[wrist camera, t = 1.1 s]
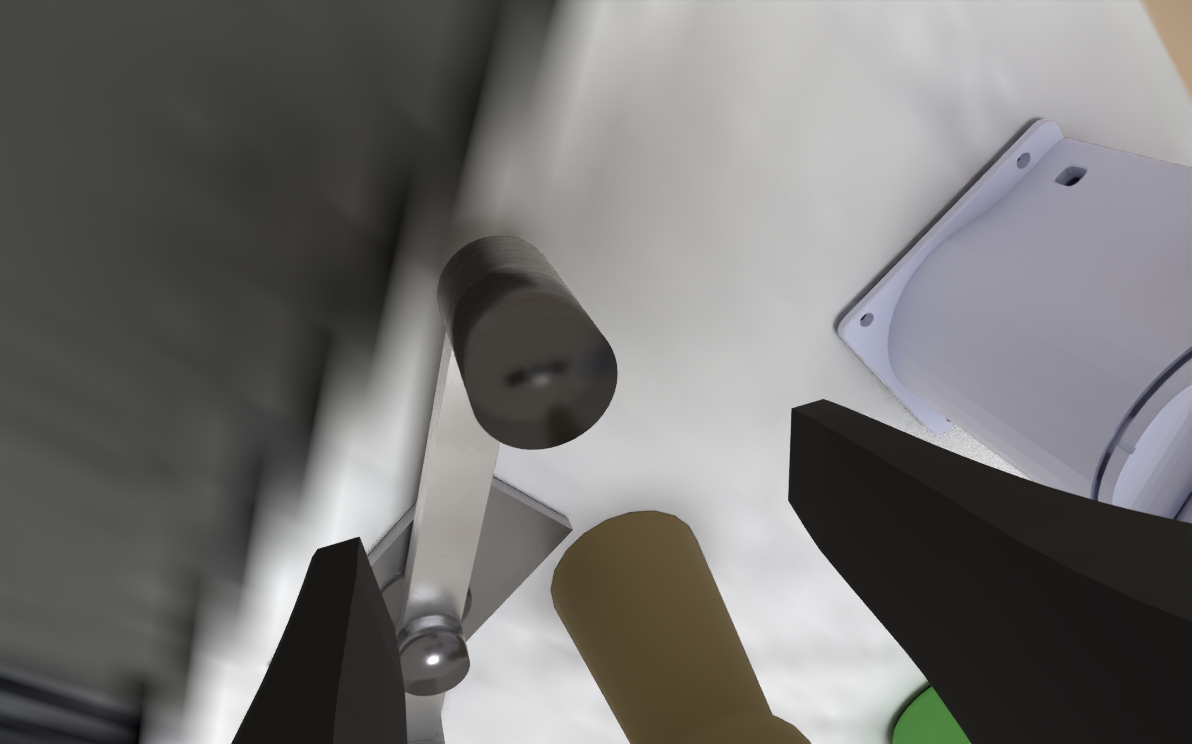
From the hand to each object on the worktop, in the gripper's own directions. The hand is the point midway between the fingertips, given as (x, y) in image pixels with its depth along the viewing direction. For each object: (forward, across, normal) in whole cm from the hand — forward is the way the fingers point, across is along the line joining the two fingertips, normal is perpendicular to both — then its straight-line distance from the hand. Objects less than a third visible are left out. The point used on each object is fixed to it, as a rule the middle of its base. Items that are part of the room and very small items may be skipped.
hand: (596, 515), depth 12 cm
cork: (+11, -3, +13) cm, 17 cm away
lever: (+9, +3, +8) cm, 13 cm away
